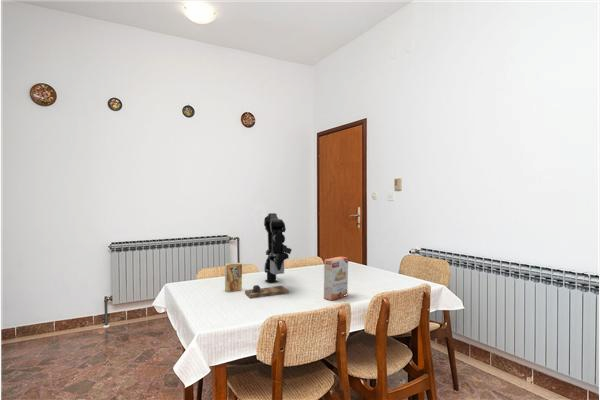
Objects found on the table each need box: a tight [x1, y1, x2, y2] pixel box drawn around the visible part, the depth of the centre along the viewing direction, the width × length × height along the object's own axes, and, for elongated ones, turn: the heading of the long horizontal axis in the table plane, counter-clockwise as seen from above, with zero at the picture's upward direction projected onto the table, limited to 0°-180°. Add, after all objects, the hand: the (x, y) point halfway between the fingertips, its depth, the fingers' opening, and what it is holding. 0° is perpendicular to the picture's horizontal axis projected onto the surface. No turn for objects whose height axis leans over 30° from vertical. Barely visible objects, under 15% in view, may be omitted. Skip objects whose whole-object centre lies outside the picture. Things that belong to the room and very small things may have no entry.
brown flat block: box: [244, 284, 290, 299], centre depth 197 cm, size 22×10×5 cm, turn 116°
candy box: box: [224, 262, 243, 293], centre depth 203 cm, size 9×4×15 cm, turn 116°
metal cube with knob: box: [270, 258, 285, 275], centre depth 202 cm, size 6×6×8 cm
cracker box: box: [323, 256, 349, 301], centre depth 190 cm, size 14×6×21 cm, turn 137°
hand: (276, 269), depth 202 cm, fingers closed on metal cube with knob, 6 cm apart
